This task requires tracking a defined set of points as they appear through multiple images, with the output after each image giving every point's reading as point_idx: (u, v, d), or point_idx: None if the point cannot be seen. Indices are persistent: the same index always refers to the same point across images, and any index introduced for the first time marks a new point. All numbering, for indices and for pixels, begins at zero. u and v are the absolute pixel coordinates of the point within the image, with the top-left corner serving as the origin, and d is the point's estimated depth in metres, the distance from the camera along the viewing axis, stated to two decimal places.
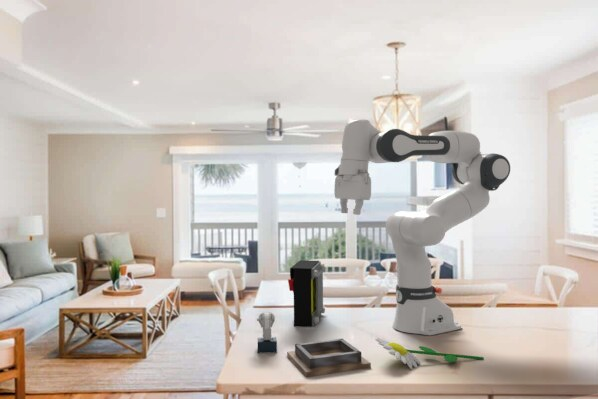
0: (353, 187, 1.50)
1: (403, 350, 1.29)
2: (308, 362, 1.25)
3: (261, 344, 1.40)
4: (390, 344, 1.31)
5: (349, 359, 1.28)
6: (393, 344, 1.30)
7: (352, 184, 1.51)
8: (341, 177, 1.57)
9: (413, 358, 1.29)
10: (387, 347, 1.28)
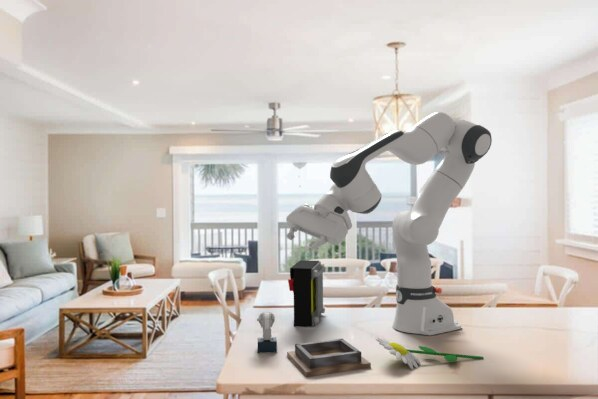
0: None
1: (403, 350, 1.29)
2: (308, 362, 1.25)
3: (261, 344, 1.40)
4: (390, 344, 1.31)
5: (349, 359, 1.28)
6: (393, 344, 1.30)
7: None
8: None
9: (413, 358, 1.29)
10: (388, 347, 1.28)
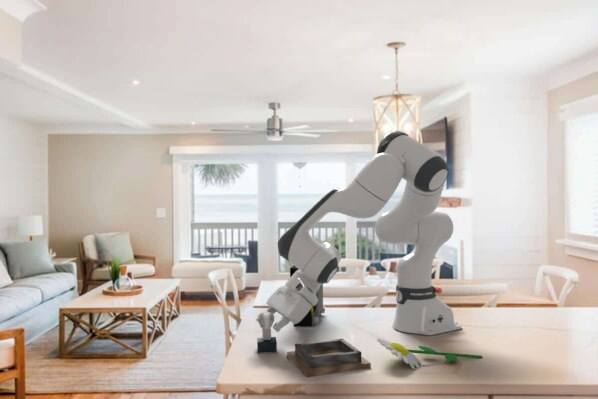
0: None
1: (404, 350, 1.29)
2: (308, 362, 1.25)
3: (261, 344, 1.40)
4: (391, 344, 1.30)
5: (349, 359, 1.28)
6: (394, 344, 1.30)
7: None
8: None
9: (414, 358, 1.29)
10: (389, 347, 1.28)
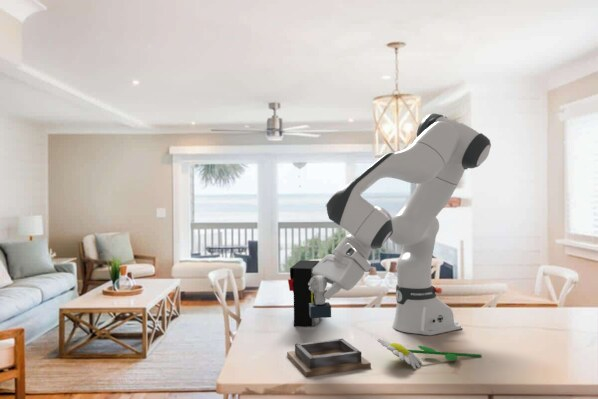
0: None
1: (405, 350, 1.29)
2: (308, 362, 1.25)
3: (315, 308, 1.31)
4: (392, 345, 1.30)
5: (349, 359, 1.28)
6: (395, 345, 1.30)
7: None
8: None
9: (415, 358, 1.29)
10: (390, 348, 1.27)
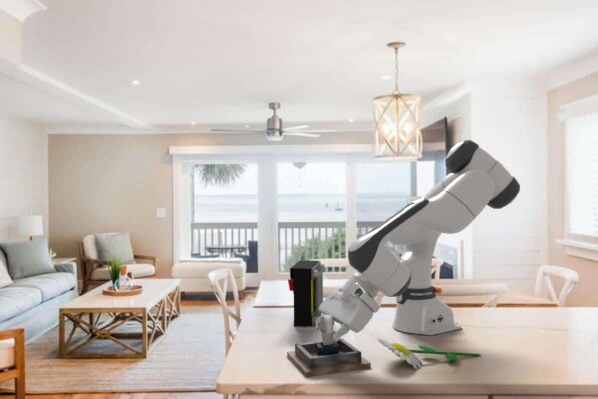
0: None
1: (406, 350, 1.29)
2: (308, 362, 1.25)
3: (322, 349, 1.30)
4: (393, 345, 1.30)
5: (349, 359, 1.28)
6: (396, 345, 1.30)
7: None
8: None
9: (416, 358, 1.29)
10: (391, 348, 1.27)
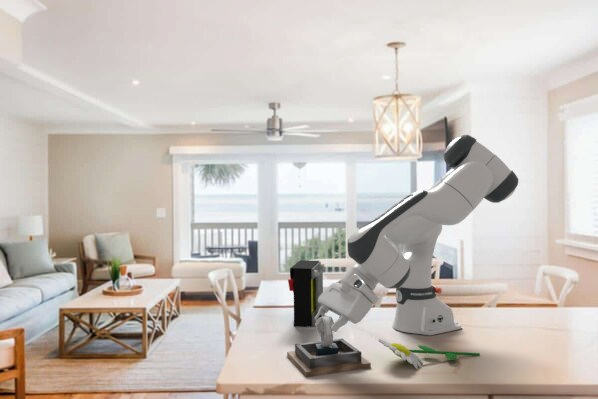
0: None
1: (407, 350, 1.29)
2: (308, 362, 1.25)
3: (322, 350, 1.30)
4: (393, 345, 1.30)
5: (349, 359, 1.28)
6: (396, 345, 1.30)
7: None
8: None
9: (417, 358, 1.29)
10: (392, 348, 1.27)
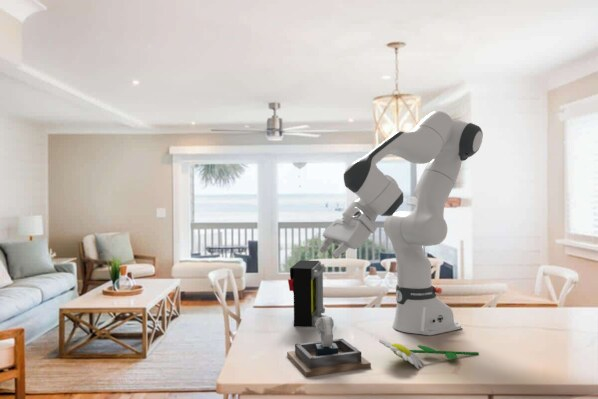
0: None
1: (408, 350, 1.29)
2: (308, 362, 1.25)
3: (322, 350, 1.30)
4: (394, 345, 1.30)
5: (349, 359, 1.28)
6: (397, 345, 1.30)
7: None
8: None
9: (417, 358, 1.29)
10: (393, 348, 1.27)
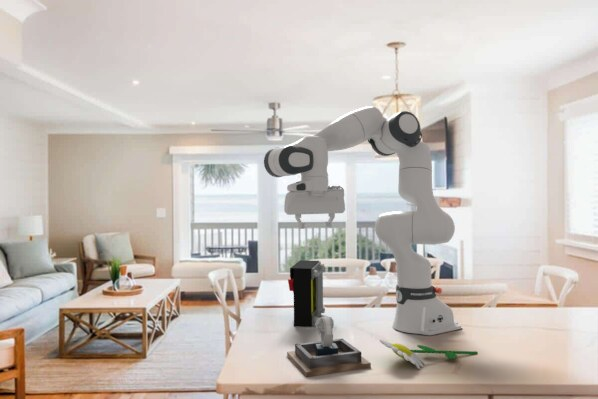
0: (330, 202, 1.59)
1: (408, 350, 1.29)
2: (308, 362, 1.25)
3: (322, 351, 1.30)
4: (395, 345, 1.30)
5: (349, 359, 1.28)
6: (398, 345, 1.29)
7: (325, 199, 1.59)
8: (307, 193, 1.56)
9: (418, 358, 1.29)
10: (395, 349, 1.26)
